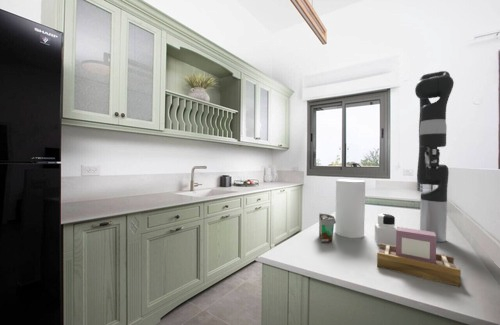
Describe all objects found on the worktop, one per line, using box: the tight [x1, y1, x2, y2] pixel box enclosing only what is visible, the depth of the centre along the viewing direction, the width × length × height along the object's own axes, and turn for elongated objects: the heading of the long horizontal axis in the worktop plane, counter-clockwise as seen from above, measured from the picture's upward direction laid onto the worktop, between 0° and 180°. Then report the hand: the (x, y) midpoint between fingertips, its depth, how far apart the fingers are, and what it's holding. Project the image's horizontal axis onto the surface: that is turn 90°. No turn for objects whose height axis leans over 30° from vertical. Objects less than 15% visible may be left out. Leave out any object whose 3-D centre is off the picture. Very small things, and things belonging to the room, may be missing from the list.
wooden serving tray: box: [376, 243, 462, 287], centre depth 73 cm, size 11×20×4 cm, turn 56°
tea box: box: [396, 226, 437, 264], centre depth 73 cm, size 10×5×9 cm, turn 56°
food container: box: [318, 212, 336, 244], centre depth 99 cm, size 12×6×10 cm, turn 168°
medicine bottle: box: [374, 213, 397, 246], centre depth 95 cm, size 7×7×12 cm
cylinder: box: [334, 178, 366, 239], centre depth 108 cm, size 12×12×25 cm
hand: (431, 178), depth 82 cm, fingers open, 8 cm apart
